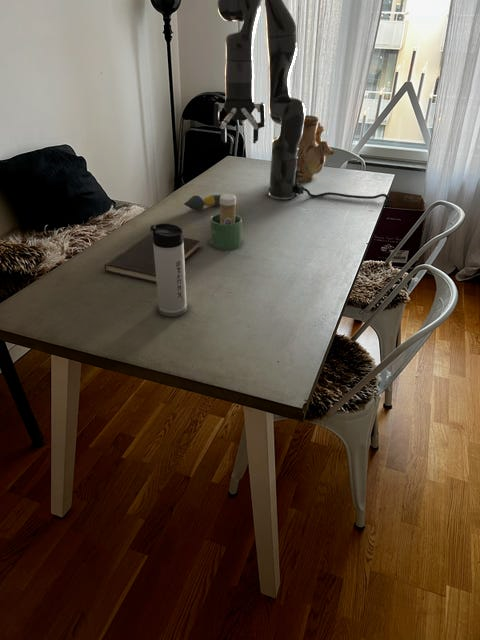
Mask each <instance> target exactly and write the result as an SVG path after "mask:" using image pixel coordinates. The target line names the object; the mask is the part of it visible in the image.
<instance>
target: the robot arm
mask: <svg viewBox="0 0 480 640" xmlns="http://www.w3.org/2000/svg"><path fill="white" fill-rule="evenodd" d="M262 1H263V4H264V17H265V36H266V50H267V58H268V59H267V60H268V76H269V102H268V103H269V104H268V105H269V106H268V107H269V116H270V119H271V121H272V122H273V123H274V124H275V125H278V126H280V131H279V135H278V136H275V137H274V138H273V139H272V142H271V158H270V171H269V172H270V175H269V187H268V196H269V198H272V199H274V200H279V201H287V200H292V199H294V198H296V197H297V195H303V194H304V192H306V193H307V195H308V196H309V197H312V198H318V197H324V196H338V197H344V198H351V199H361V200H362V199H363V200H366V199H367V200H374V199H378V198H381V197H385V198H386V199H390V197H389V195H387V194H386V193H379V194H376V195H354V194H346V193H341V192H340V193H339V192H331V191H328V192H322V193H318V194H313V193H311V192H310V190H309V189H308V188H305V187H304V186H303V185H301V184H299V183H298V182H299V180H298V174H299V171H298V170H297V159H298V148H299V143H300V141H301V138H302V133H303V126H304V118H305V115H306V108H305V105H304V103H303V101H302V100H301V99H299V98H296V97H292V96H291V94H290V75H291V72H292V68H293V66H294V63H295V60H296V56H297V51H298V35H297V34H298V33H297V25H296V22H295V20H294V18H293V16H292V14H291V13H290V11H289V9H288V7H287V6H286V4H285V2H284V1H283V0H217V11H218V14H219V16H220V17H221V18H222V20H224V21H226V22H237V23H239V22H240V23H243V24H242V26H241V28H240V30H238V31H236V32H232V33H229V34H228V35H226V37H225V67H224V68H225V69H224V79H225V80H224V81H225V82H224V83H225V84H224V85H225V102H224V103H221V102H219V101H216V102H215V103H214V104H213V126H214V127H215V128H219V129H220V141H221V142H222V143H223V144H226V143H227V127H226V126H227V125H228V123H230V121H231V120H233V121H236V122H237V121H246V120H247V121H248V122H249V124H251V126H252V128H253V130H252V131H253V135H252V144H256V143H257V142H258V141H259V130H260V129H261V128H264V127H266V108H265V107H266V106H265V103H264V102H263V101H262V102H260V103H255V102H254V79H255V74H254V73H255V71H254V70H255V69H254V41H255V40H254V39H255V35H256V29H257V24H258V21H259V17H260V13H261V9H262ZM222 110H225V112H226V116H225V118H223V121H220V113H221V112H222ZM254 110H256V111H257V113H259V119H260V121H259V122H257V120H256V119H255V116H254V115H253V114H252V113H253V112H254Z"/></svg>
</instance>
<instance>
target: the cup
mask: <svg viewBox="0 0 480 640" xmlns="http://www.w3.org/2000/svg"><path fill="white" fill-rule="evenodd" d="M209 220H210V245H211V246H212V247H213V248H214V249H217V250H223V251H231V250H235V249H237V248H240V247H241V245H242V228H243V220H242V217H241V216H240V215H237V214H235V224H220V213H217V214H213V215H212V216H210V219H209Z"/></svg>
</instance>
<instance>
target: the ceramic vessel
mask: <svg viewBox="0 0 480 640" xmlns="http://www.w3.org/2000/svg"><path fill="white" fill-rule="evenodd" d="M319 119H320V118H319V117H318V116H314V115H309V114H305V118H304V126H303V133H302V138H301V141H300V143H299V148H298V159H297V170H298V171H299V174H298V182H299V181H300V182H311V181H313V180H314V178H315V175H317V174H319V173H321V172H322V171H323V168H324V166H325V163H326V157H331V156H333V155H335V151H334V150H333V149H332V148H330V145H329V143H328V141H325V140H322V134H323V132H324V131H325V127H324V126H323V125H321V122H319Z"/></svg>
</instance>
